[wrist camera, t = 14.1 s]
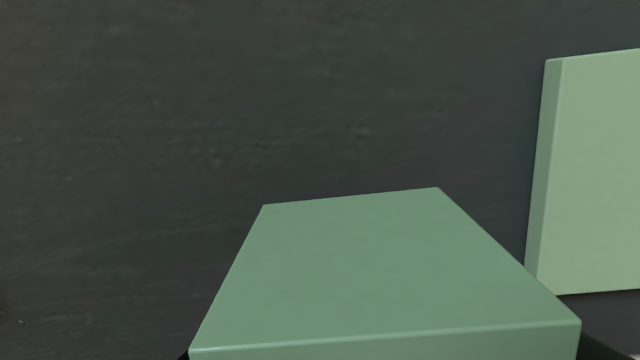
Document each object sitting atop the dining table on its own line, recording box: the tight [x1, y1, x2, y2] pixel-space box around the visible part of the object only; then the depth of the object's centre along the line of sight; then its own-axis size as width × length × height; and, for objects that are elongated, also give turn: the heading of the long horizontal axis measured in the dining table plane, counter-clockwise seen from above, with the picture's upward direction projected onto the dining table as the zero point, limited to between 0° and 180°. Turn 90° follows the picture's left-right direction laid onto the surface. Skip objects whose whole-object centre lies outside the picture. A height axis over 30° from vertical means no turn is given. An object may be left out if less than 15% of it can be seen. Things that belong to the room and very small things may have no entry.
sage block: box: [188, 187, 582, 360], centre depth 6 cm, size 4×4×4 cm
